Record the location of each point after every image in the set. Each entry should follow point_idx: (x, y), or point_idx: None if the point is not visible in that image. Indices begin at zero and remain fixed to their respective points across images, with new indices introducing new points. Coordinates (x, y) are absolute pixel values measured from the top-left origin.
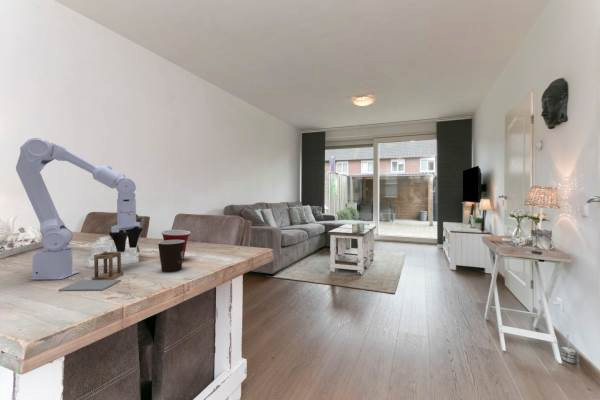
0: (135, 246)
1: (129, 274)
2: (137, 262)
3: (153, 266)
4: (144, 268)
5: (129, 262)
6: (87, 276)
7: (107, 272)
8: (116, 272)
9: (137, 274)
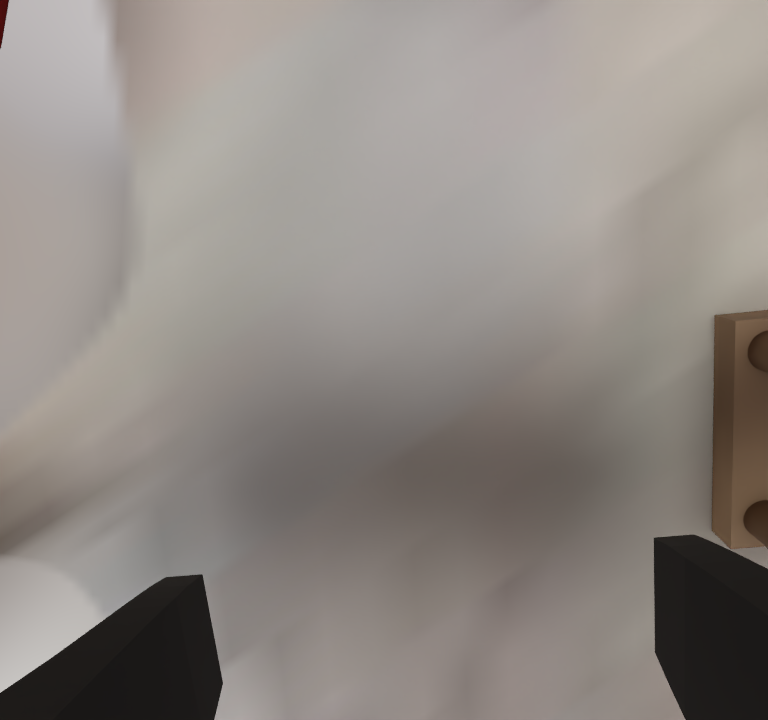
0: (192, 586)
1: (698, 245)
2: (112, 513)
3: (284, 155)
4: (400, 224)
5: None
6: None
7: (744, 508)
8: (753, 396)
9: (703, 132)
